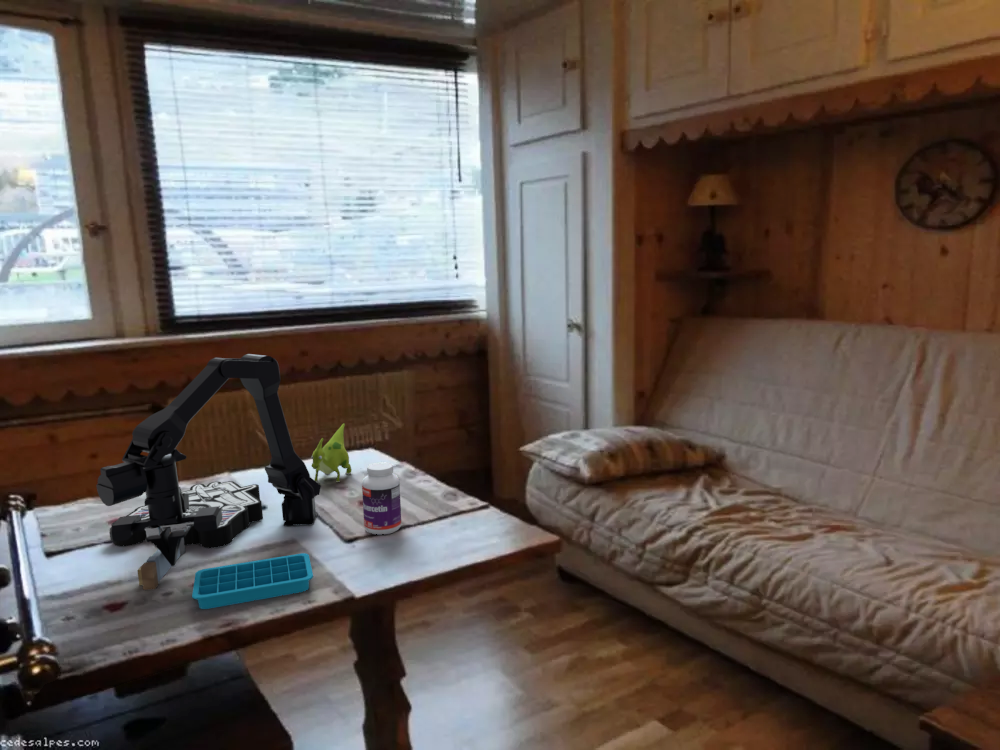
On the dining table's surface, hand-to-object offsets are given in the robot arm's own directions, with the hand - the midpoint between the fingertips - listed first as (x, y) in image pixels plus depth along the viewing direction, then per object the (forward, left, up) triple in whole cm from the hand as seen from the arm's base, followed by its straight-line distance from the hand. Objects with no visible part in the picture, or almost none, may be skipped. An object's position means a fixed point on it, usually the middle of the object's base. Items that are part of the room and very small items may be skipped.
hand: (173, 565), depth 136 cm
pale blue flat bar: (+2, -3, -2) cm, 5 cm away
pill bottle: (-39, -16, -2) cm, 42 cm away
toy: (-23, -53, -2) cm, 57 cm away
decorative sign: (+3, -28, -2) cm, 28 cm away
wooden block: (+3, +4, -2) cm, 5 cm away
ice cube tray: (-17, +8, -2) cm, 19 cm away
